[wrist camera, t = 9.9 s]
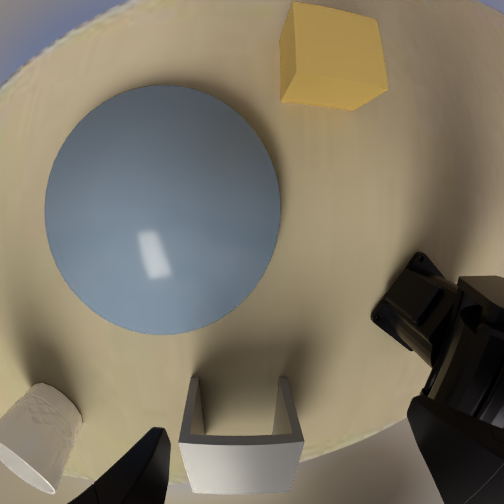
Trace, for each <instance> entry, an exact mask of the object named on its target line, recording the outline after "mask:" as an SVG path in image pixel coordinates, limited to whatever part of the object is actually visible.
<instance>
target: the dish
mask: <svg viewBox="0 0 504 504" xmlns="http://www.w3.org/2000/svg"><path fill="white" fill-rule="evenodd" d="M280 210H281V206H280V193H279V186H278V182H277V177H276V172H275V170H274V167H273V164H272V161H271V158H270V156H269V154H268V152H267V150H266V148H265V146H264V144H263V142H262V141H261V139H260V138H259V136H258V135H257V134H256V132H255V131H254V129H253V128H252V127H251V125H250V124H249V123H248V122H247V121H246V120H245V119H244V118H243V117H242V116H241V115H240V114H239V113H238V112H236V111H235V110H234V109H232V108H231V107H230V106H228V105H227V104H226V103H224V102H222V101H220V100H219V99H217V98H215V97H213V96H211V95H209V94H206V93H204V92H201V91H198V90H195V89H191V88H187V87H182V86H172V85H156V86H146V87H141V88H137V89H133V90H130V91H127V92H124V93H122V94H119V95H117V96H115V97H113V98H111V99H109V100H107V101H106V102H104V103H102V104H101V105H99V106H98V107H97V108H95V109H94V110H92V111H91V112H90V113H89V114H88V115H87V116H86V117H84V118H83V119H82V120H81V121H80V122H79V123H78V124H77V126H76V127H75V128H74V129H73V131H72V132H71V133H70V134H69V136H68V137H67V139H66V140H65V142H64V144H63V145H62V147H61V148H60V150H59V153H58V155H57V157H56V159H55V161H54V164H53V166H52V169H51V172H50V176H49V179H48V184H47V189H46V197H45V226H46V233H47V238H48V242H49V246H50V250H51V253H52V255H53V258H54V260H55V263H56V265H57V267H58V269H59V271H60V273H61V275H62V277H63V278H64V280H65V281H66V283H67V284H68V286H69V287H70V289H71V290H72V291H73V292H74V293H75V295H76V296H77V297H78V298H79V299H80V300H81V301H82V302H83V303H84V304H85V305H86V306H87V307H89V308H90V309H91V310H92V311H93V312H95V313H96V314H98V315H99V316H101V317H102V318H104V319H105V320H107V321H109V322H111V323H113V324H115V325H117V326H120V327H123V328H125V329H128V330H131V331H135V332H140V333H144V334H154V335H172V334H179V333H185V332H190V331H193V330H196V329H199V328H202V327H205V326H207V325H209V324H211V323H213V322H215V321H217V320H219V319H220V318H222V317H224V316H225V315H227V314H228V313H230V312H231V311H232V310H233V309H234V308H236V307H237V306H238V305H239V304H240V303H242V302H243V300H244V299H245V298H246V297H247V296H248V295H249V294H250V293H251V292H252V290H253V289H254V288H255V286H256V285H257V283H258V282H259V280H260V279H261V277H262V276H263V274H264V272H265V270H266V268H267V266H268V264H269V262H270V260H271V257H272V254H273V251H274V248H275V245H276V241H277V236H278V231H279V226H280Z"/></svg>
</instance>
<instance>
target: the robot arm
mask: <svg viewBox="0 0 504 504" xmlns="http://www.w3.org/2000/svg"><path fill="white" fill-rule="evenodd" d="M420 256H421V259H420V261H419V258H420ZM378 315H379V317H378V318H377V319H376V317H377V316H378ZM371 320H372V321H373V322H374V323H375V324H376V325H377V326H379V327H380V328H381V329H382V330H384V331H385V332H386V333H388V334H389V335H390V336H392V337H393V338H394V339H395V340H397V341H398V342H399V343H401V344H402V345H403V346H404V347H406V348H407V349H408V350H409V351H415V352H416V353H417V354H418V355H419V356H420V357H421V358H422V359H423V360H424V361H425V362H426V363H427V364H428V365H429V366H430V367H431V368H432V370H431V373H430V375H429V378H428V380H427V382H426V384H425V387H424V388H423V389H422V390H421V393H420V395H418V396H416V397H414V398H413V399H412V401H411V403H410V406H409V408H408V411H407V418H408V420H409V423H410V426H411V429H412V431H413V434H414V437H415V440H416V443H417V445H418V447H419V450H420V452H421V454H422V456H423V458H424V460H425V462H426V464H427V466H428V468H429V471H430V473H431V475H432V477H433V479H434V481H435V484H436V486H437V488H438V490H439V492H440V495H441V497H442V499H443V501H444V504H504V278H502V277H499V276H459V279H458V283H457V285H456V284H454V283H452V282H450V281H448V280H446V279H445V278H444V276H443V275H442V274H441V273H440V271H439V270H438V269H437V268H436V267H435V265H434V264H433V263H432V262H431V261H430V259H429V258H428V257H427V256H426V255H425V254H424V253H422V252H417V253H416V254H415V255H414V257H413V258H412V260H411V261H410V263H409V264H408V265H407V267H406V268H405V270H404V271H403V273H402V274H401V275H400V277H399V278H398V280H397V281H396V282H395V284H394V285H393V286H392V288H391V289H390V291H389V292H388V293H387V295H386V296H385V297H384V299H383V300H382V301H381V302H380V304H379V305H378V306H377V308H376V309H375V310H374V311H373V313H372V314H371ZM170 450H171V443H170V440H169V437H168V435H167V432H166V430H165V429H164V428H161V427H153V428H151V429H150V430H149V431H148V432H147V433H146V434H145V435H144V436H143V437H142V438H141V439H140V440H139V441H138V442H137V443H136V444H135V445H134V446H133V447H132V448H131V449H130V450H129V451H128V452H127V453H126V454H125V455H124V456H123V457H121V458H120V459H119V460H118V461H117V462H116V463H115V464H114V465H113V466H112V467H111V468H110V469H109V470H108V471H106V472H105V473H104V474H103V475H102V476H101V477H100V478H99V479H98V480H97V481H95V482H94V484H92V485H91V486H90V487H89V488H87V489H86V490H85V491H84V492H83V493H81V494H80V495H79V496H78V497H76V498H75V499H73V500H72V501H71V502H69V503H68V504H164V502H165V497H166V491H167V486H168V480H169V464H170Z"/></svg>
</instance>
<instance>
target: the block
mask: <svg viewBox="0 0 504 504" xmlns="http://www.w3.org/2000/svg"><path fill="white" fill-rule="evenodd" d="M387 90H389V89H388V81H387V73H386V66H385V60H384V54H383V48H382V43H381V38H380V33H379V28H378V24H377V20H375V19H372V18H368V17H365V16H362V15H358V14H354V13H350V12H347V11H342V10H338V9H334V8H329V7H324V6H319V5H313V4H307V3H300V2H292V5H291V8H290V11H289V14H288V17H287V20H286V23H285V26H284V29H283V32H282V35H281V38H280V100H281V102H285V103H296V104H306V105H315V106H323V107H330V108H337V109H343V110H349V111H354V110H356V109H357V108H359V107H360V106H362V105H364V104H365V103H367V102H369V101H370V100H372V99H374V98H375V97H377V96H379V95H380V94H382V93H384V92H385V91H387Z"/></svg>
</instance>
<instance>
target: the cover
mask: <svg viewBox="0 0 504 504" xmlns="http://www.w3.org/2000/svg"><path fill="white" fill-rule="evenodd" d="M178 443H179V446H180V450H181V454H182V458H183V461H184V465H185V468H186V472H187V475H188V478H189V481H190V484H191V488H192V491H193V492H194V493H207V494H263V493H278V492H288V491H290V488H291V485H292V482H293V479H294V476H295V473H296V469H297V466H298V463H299V459H300V456H301V452H302V449H303V445H304V438H303V434H302V431H301V427H300V424H299V420H298V416H297V413H296V409H295V406H294V402H293V398H292V395H291V391H290V388H289V384H288V380H287V377H284V378H279V383H278V392H277V401H276V409H275V418H274V426H273V433H272V435H260V436H213V435H205V429H204V421H203V413H202V404H201V395H200V386H199V378H196V377H191V380H190V385H189V390H188V395H187V400H186V405H185V410H184V415H183V421H182V426H181V431H180V437H179V442H178Z"/></svg>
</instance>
